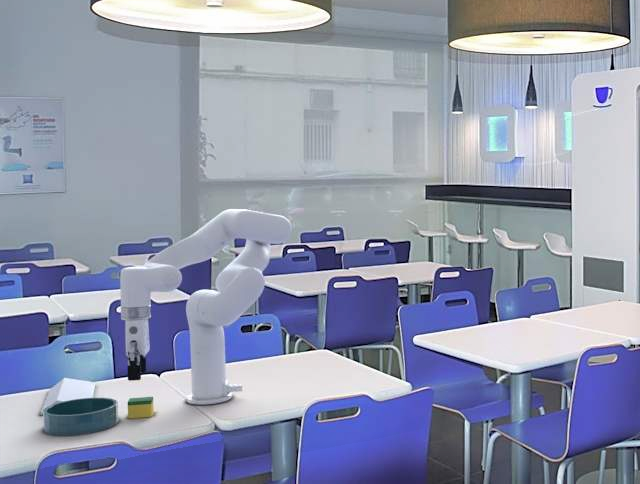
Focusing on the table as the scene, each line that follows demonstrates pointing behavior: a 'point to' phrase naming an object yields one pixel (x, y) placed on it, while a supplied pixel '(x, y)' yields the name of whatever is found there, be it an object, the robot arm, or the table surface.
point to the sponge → (140, 407)
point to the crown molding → (69, 391)
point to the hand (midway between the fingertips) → (137, 376)
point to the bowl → (80, 416)
